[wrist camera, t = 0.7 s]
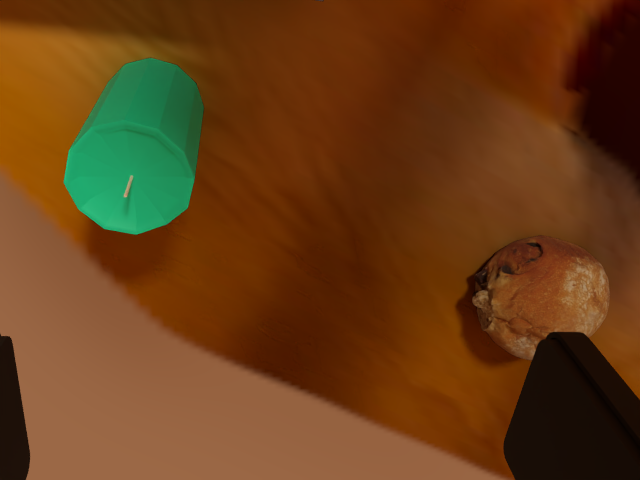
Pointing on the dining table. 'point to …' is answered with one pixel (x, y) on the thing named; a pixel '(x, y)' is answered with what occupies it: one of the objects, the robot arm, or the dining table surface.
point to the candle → (138, 149)
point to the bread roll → (539, 293)
